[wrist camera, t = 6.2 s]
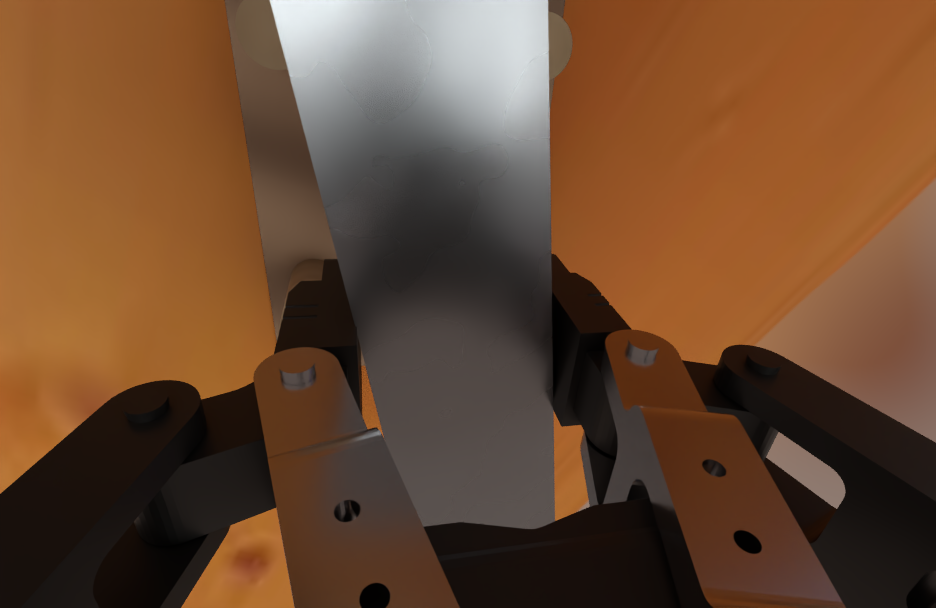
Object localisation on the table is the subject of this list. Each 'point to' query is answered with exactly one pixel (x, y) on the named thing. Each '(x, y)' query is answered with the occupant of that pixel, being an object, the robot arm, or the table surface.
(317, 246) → the cradle
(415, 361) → the bar
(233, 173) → the table surface
